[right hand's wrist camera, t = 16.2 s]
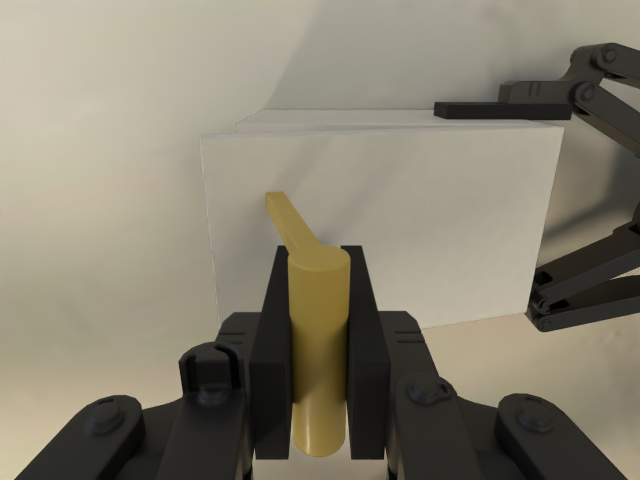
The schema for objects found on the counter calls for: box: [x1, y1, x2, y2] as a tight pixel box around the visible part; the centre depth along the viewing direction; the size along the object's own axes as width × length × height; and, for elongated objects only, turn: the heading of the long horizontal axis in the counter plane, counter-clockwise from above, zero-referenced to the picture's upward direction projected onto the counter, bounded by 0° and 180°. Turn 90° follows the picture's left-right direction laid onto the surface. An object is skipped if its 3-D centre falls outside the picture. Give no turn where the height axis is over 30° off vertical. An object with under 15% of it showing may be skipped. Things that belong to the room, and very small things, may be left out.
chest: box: [236, 109, 544, 134], centre depth 26 cm, size 15×10×10 cm, turn 90°
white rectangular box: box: [199, 124, 565, 457], centre depth 15 cm, size 16×10×9 cm, turn 90°
